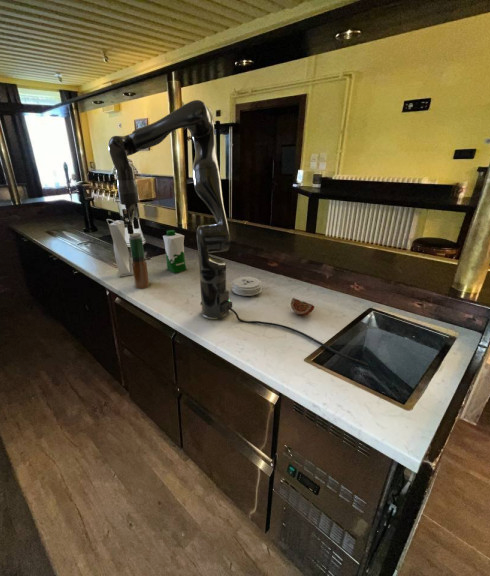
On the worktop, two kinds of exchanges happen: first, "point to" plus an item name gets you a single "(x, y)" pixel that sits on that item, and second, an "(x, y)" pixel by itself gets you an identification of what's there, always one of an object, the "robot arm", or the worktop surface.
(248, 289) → the lid
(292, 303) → the fruit slice
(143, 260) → the amber bottle
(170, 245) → the milk carton
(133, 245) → the green bottle
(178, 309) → the worktop surface
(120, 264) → the white paper bag
